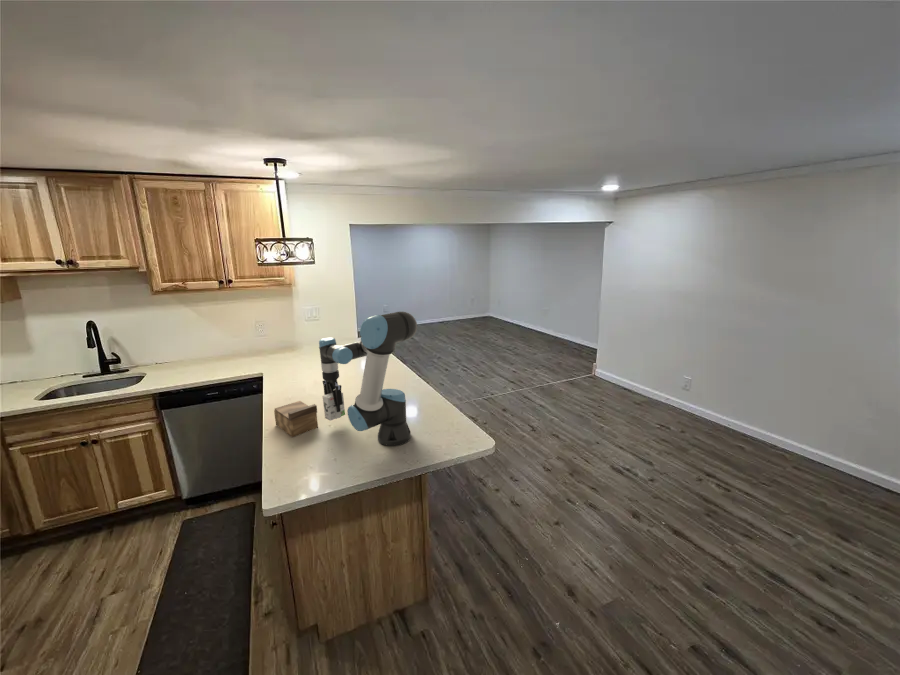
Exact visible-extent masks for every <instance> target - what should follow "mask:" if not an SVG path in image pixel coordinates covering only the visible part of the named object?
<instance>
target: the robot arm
mask: <svg viewBox="0 0 900 675" xmlns="http://www.w3.org/2000/svg"><path fill="white" fill-rule="evenodd" d="M416 320H417V319H416V318H415V317H414V316H413V315H412V314H411V313H409V312H407V311H395V312H391V313H385V314H375V315H373V316H370V317H367V318H366V319H364V320H363V322H362V323H361V326H360V329H359V336H360V341H355V342H350V343H346V344H342V345H341V344H340V345H339V344H337V341H336V338H335V337H324V338H323V337H322V338H321V339H319V341H318V344H319V345H318V348H319V355H320V356H319V357H320V367H321V373H322V376H321V377H322V379H323V380H322V384H323V393H324V394H323V396H324V395H327V394H330V393H332V394H333V399H334V403H335V405H334V410H335V419H334V420H337V419H339V418H342V416H341V410H340V405H342V404H343V402H342V393H343V392H342V385H341V384H340V385H339V383H338V382H339V381H338V379H339V378H340V371H339V364H340V365H347V364H349V363H350V362H351V361H352V360H355V359H360V358H364V357H366V358H365V363H364V369H363V375H362V380H361V386H360V392H359V394H358V395H356V396H355V401H354V403H353V404H351V405H349V406H348V407H347V416H348V420H349V422H350V425H351V426H352V428H354V429H355V431H358V432H363V431H364V432H365V431H368V430H370V429H372V428H374V427H377V426H379V429H378V432H377V441H378V443H379V444H381V445H383V446H388V447H398V446H402V445H405V444H406V443H408V442H409V441H410V440H411V438H412V436H411V435H412V434H411V433H412V432H411V430H410V426H409V424H408V422H407V407H406V406H407V400H406V395H405V392H404V391H402V390H400V389H397V388H384V382H385V378H386V374H387V368H388V362H389V358H390V355H392V354H393V353H394V352H395V350H396V345H397V344H398V343H401V342H405V341H408V340H410V339H412V338H413V337H414V336H415V335H416V333H417V332H418V331H417V330H418V323H417V321H416ZM383 388H384V389H383ZM341 392H342V393H341Z"/></svg>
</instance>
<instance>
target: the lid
mask: <svg viewBox="0 0 900 675" xmlns="http://www.w3.org/2000/svg"><path fill="white" fill-rule="evenodd" d="M317 406H318V405H317V404H315V403H314V404H311V405H308V404H306V403H305V402H303V401H301V400H297V401H294V402H291V403H287V404H285V405H282V406H278V407H274V410H275V411H277V412H278V413H279V414H281V415H282V416H284V417H285V418H287V419H288V420H289V421H294V420H297V419H300V418H303V417H306V416H309V415H312V414H315V413H318V407H317Z"/></svg>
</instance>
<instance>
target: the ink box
mask: <svg viewBox="0 0 900 675" xmlns="http://www.w3.org/2000/svg"><path fill="white" fill-rule="evenodd" d="M341 393H342V402H343V404H342V405H340V410H341V417H344V416H345V415H346V411H345V402H344V400H345V399H344V392H342V391H341ZM322 403H323V410H324V411H323V412H324V419H326V420H328V421H333V420H336V419H335V410H334V405H335V403H334V399H333V394H332V393H330V394H327V395H324V394H323V395H322Z"/></svg>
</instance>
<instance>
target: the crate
mask: <svg viewBox="0 0 900 675" xmlns="http://www.w3.org/2000/svg"><path fill="white" fill-rule="evenodd" d="M273 411H274V412H273V413H274V419H275V426H277V427H278V428H279V429H281V430H282V431H283V432H285V434H287V435H288V436H290V437H291V438H294V437H296V436H300V435H302V434H305V433H308V432H310V431H313V430H316V429H318V428H319V423H318V414H317V413H318V412H317V413H315V414H312V415H309V416H306V417H303V418H300V419H297V420H294V421H289V420H288V419H287V418H285V417H284V416H282V415H281V414H279V413H278V412H277V411H275V409H273Z"/></svg>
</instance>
